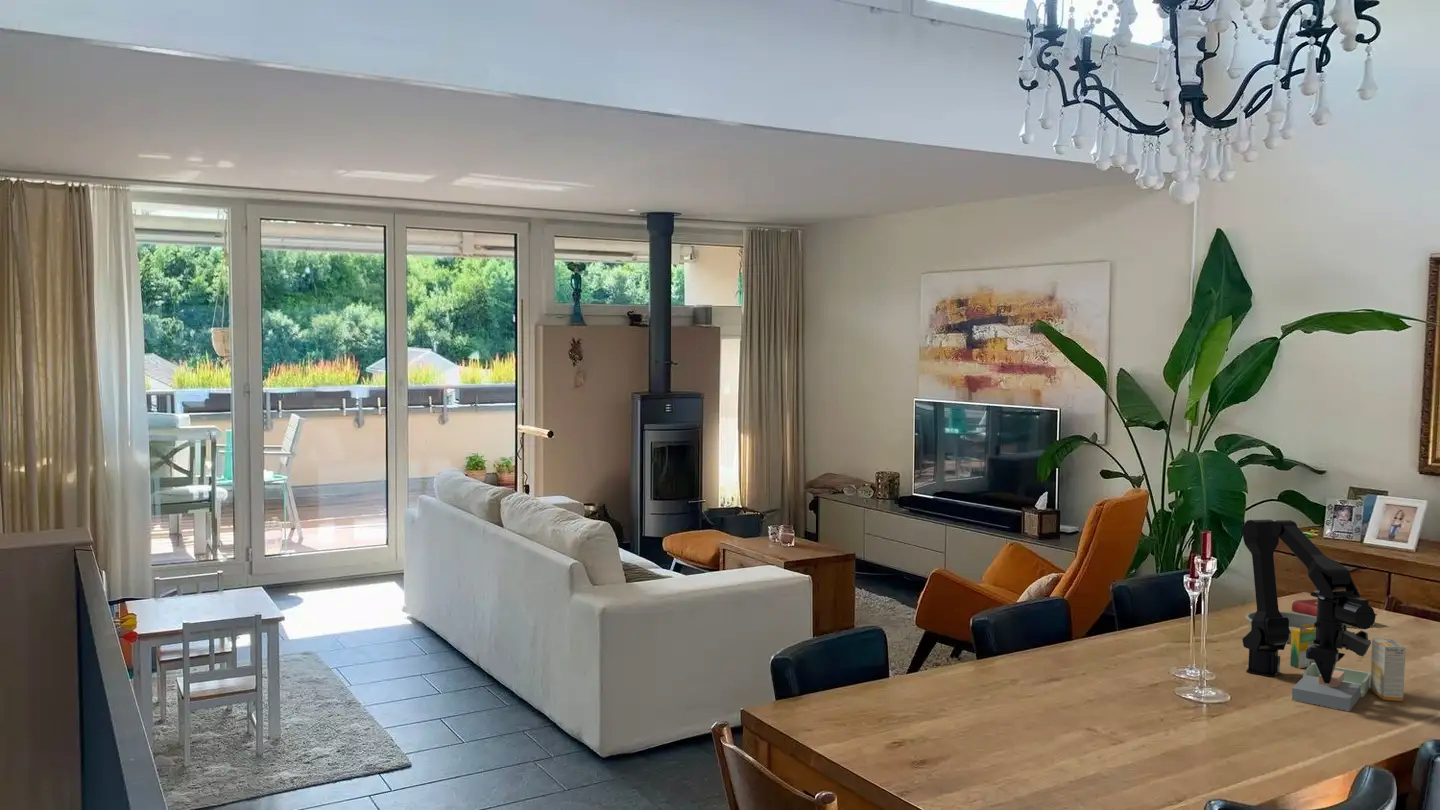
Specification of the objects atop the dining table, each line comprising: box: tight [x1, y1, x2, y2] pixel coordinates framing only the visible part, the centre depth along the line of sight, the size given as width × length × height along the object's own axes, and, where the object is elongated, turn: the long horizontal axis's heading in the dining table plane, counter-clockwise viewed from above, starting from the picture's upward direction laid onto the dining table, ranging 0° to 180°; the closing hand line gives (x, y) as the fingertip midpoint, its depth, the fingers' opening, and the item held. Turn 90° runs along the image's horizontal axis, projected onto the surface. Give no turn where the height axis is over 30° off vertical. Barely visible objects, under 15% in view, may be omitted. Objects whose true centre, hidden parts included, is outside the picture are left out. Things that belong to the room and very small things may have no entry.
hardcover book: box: [1290, 598, 1378, 628], centre depth 339 cm, size 12×21×4 cm, turn 16°
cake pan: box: [1245, 610, 1317, 644], centre depth 318 cm, size 25×25×4 cm
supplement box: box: [1369, 638, 1407, 702], centre depth 262 cm, size 8×5×13 cm, turn 168°
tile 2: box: [1333, 670, 1345, 683], centre depth 265 cm, size 4×4×2 cm
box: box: [1302, 663, 1371, 698], centre depth 269 cm, size 13×11×4 cm
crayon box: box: [1289, 624, 1318, 669], centre depth 286 cm, size 7×3×12 cm, turn 108°
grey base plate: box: [1291, 675, 1361, 712], centre depth 259 cm, size 12×14×3 cm
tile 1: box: [1319, 674, 1341, 687], centre depth 261 cm, size 4×4×2 cm
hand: (1327, 683), depth 259 cm, fingers closed
